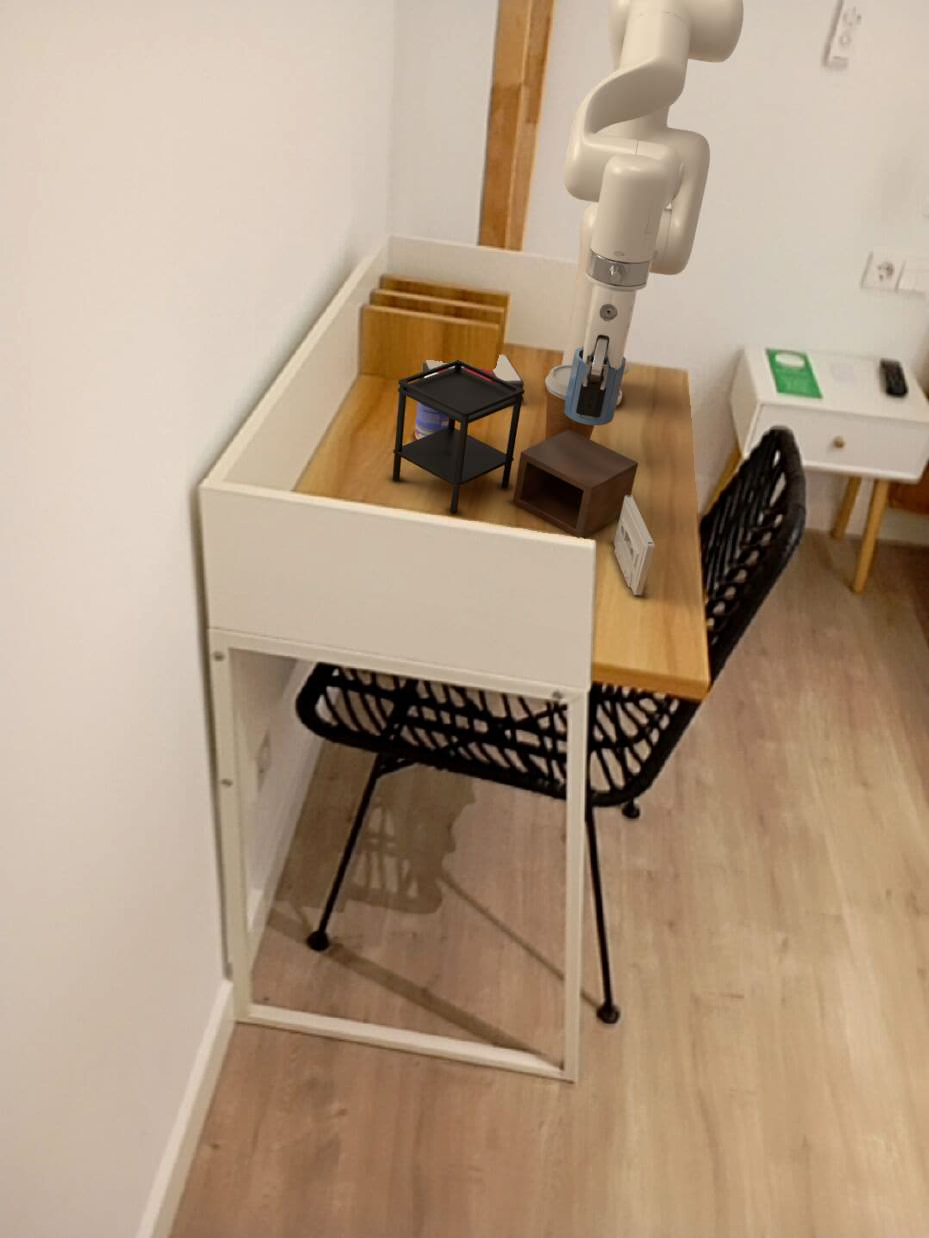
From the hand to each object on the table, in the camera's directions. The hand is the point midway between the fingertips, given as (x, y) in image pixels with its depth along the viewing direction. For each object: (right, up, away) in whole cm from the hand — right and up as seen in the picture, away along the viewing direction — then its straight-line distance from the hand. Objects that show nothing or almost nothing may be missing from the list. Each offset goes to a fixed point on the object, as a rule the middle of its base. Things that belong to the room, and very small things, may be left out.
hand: (591, 401), depth 133 cm
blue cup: (0, -1, +1) cm, 2 cm away
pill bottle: (-22, -1, +21) cm, 30 cm away
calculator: (-16, +10, +37) cm, 41 cm away
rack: (-19, -9, +11) cm, 23 cm away
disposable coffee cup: (-1, -3, +23) cm, 23 cm away
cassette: (+4, -22, -2) cm, 23 cm away
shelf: (-2, -13, +9) cm, 16 cm away
